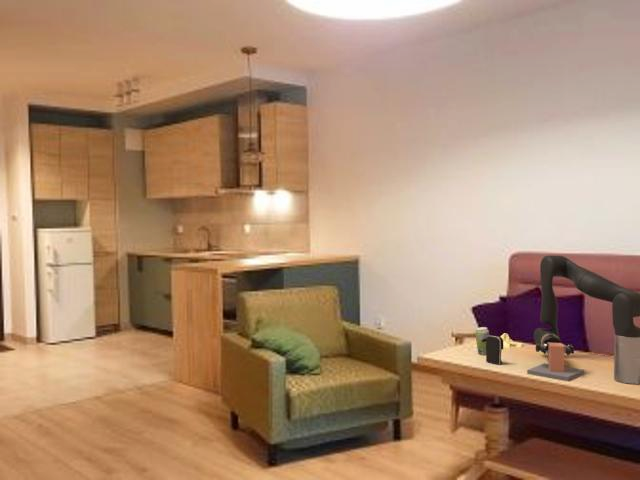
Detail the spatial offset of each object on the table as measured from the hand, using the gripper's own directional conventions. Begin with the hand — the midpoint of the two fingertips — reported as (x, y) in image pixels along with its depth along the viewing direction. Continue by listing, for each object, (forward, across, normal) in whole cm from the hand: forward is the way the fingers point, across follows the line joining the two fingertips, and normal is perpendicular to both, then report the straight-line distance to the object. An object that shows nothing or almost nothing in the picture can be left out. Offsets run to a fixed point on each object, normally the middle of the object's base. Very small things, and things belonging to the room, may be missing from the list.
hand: (556, 351), depth 242 cm
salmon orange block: (-2, 0, +8) cm, 8 cm away
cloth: (-56, -18, +10) cm, 59 cm away
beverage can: (-31, -27, +9) cm, 42 cm away
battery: (-15, -22, +9) cm, 29 cm away
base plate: (-2, 0, +9) cm, 9 cm away
